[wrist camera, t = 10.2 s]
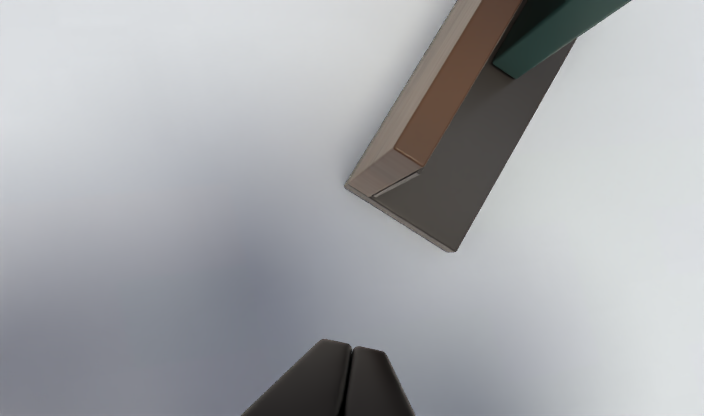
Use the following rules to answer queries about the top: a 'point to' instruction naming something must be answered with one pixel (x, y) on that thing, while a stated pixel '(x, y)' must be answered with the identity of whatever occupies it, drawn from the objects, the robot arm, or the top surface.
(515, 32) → the sliding door
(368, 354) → the robot arm
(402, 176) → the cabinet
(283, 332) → the top surface
